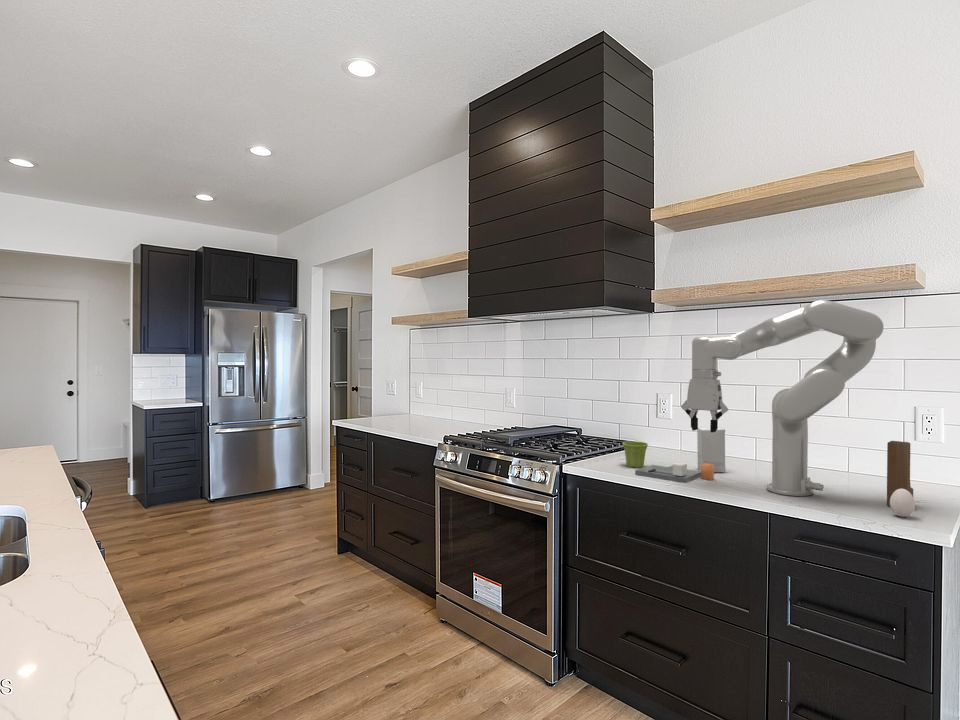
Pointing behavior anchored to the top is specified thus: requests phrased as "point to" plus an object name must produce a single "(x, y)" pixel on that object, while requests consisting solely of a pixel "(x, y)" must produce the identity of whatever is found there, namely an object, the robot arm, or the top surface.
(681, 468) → the block
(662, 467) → the pad
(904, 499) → the egg
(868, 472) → the top surface
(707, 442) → the skincare box
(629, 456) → the plant pot
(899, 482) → the wooden block
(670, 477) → the breaker board
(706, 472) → the cap
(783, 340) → the robot arm
